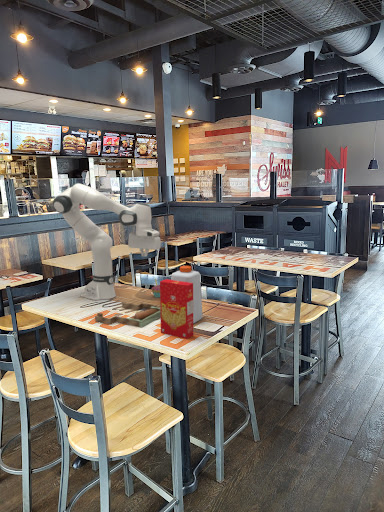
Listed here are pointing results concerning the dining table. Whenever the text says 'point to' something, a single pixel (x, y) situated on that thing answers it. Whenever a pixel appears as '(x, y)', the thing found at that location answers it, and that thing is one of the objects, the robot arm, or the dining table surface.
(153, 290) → the cupcake
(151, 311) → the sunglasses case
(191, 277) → the plastic bottle
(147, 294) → the dining table surface
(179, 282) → the food packaging
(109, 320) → the trap lane
